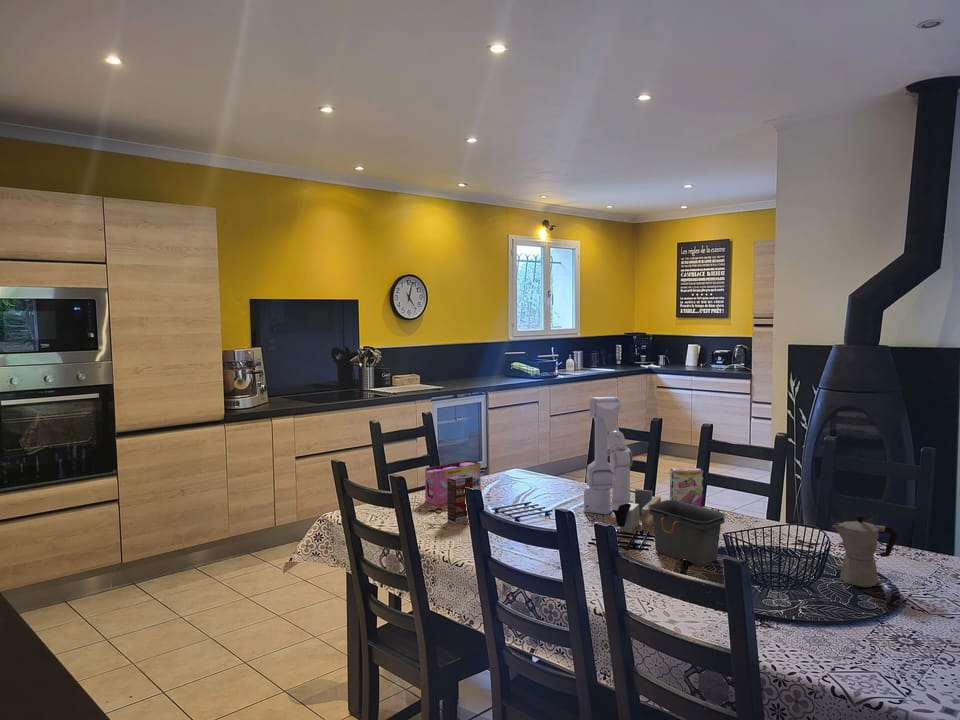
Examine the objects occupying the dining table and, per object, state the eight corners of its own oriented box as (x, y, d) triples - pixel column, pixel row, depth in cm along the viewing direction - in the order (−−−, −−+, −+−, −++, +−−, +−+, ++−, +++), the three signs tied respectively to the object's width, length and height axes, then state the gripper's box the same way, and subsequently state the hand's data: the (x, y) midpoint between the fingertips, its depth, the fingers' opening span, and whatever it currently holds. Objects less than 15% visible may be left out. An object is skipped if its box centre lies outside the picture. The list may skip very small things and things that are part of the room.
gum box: (433, 506, 266) (433, 471, 265) (422, 502, 272) (421, 468, 271) (481, 495, 281) (480, 462, 280) (469, 492, 287) (468, 459, 286)
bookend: (635, 514, 251) (635, 489, 251) (637, 511, 254) (637, 487, 253) (651, 516, 248) (651, 491, 248) (653, 513, 251) (653, 489, 251)
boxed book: (619, 530, 233) (619, 509, 233) (628, 522, 242) (628, 502, 241) (631, 531, 231) (631, 511, 231) (639, 523, 240) (639, 503, 239)
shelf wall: (641, 529, 233) (641, 508, 233) (655, 515, 249) (655, 496, 249) (647, 530, 232) (647, 509, 232) (660, 516, 248) (660, 496, 248)
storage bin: (730, 561, 202) (731, 513, 201) (698, 573, 193) (698, 523, 192) (671, 542, 219) (671, 498, 218) (639, 553, 210) (639, 507, 209)
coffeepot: (833, 584, 184) (834, 517, 183) (829, 571, 193) (831, 508, 192) (900, 591, 178) (901, 523, 177) (893, 578, 187) (894, 513, 186)
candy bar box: (671, 515, 249) (671, 470, 248) (669, 511, 254) (669, 467, 253) (703, 515, 248) (703, 470, 247) (700, 512, 253) (700, 467, 252)
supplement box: (455, 524, 242) (454, 480, 241) (447, 521, 245) (446, 477, 244) (474, 519, 247) (473, 476, 246) (465, 516, 251) (464, 474, 250)
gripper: (626, 492, 220) (626, 533, 221) (639, 482, 233) (639, 521, 234) (605, 489, 224) (605, 530, 225) (618, 480, 236) (618, 519, 237)
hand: (621, 526), depth 229 cm, fingers closed
